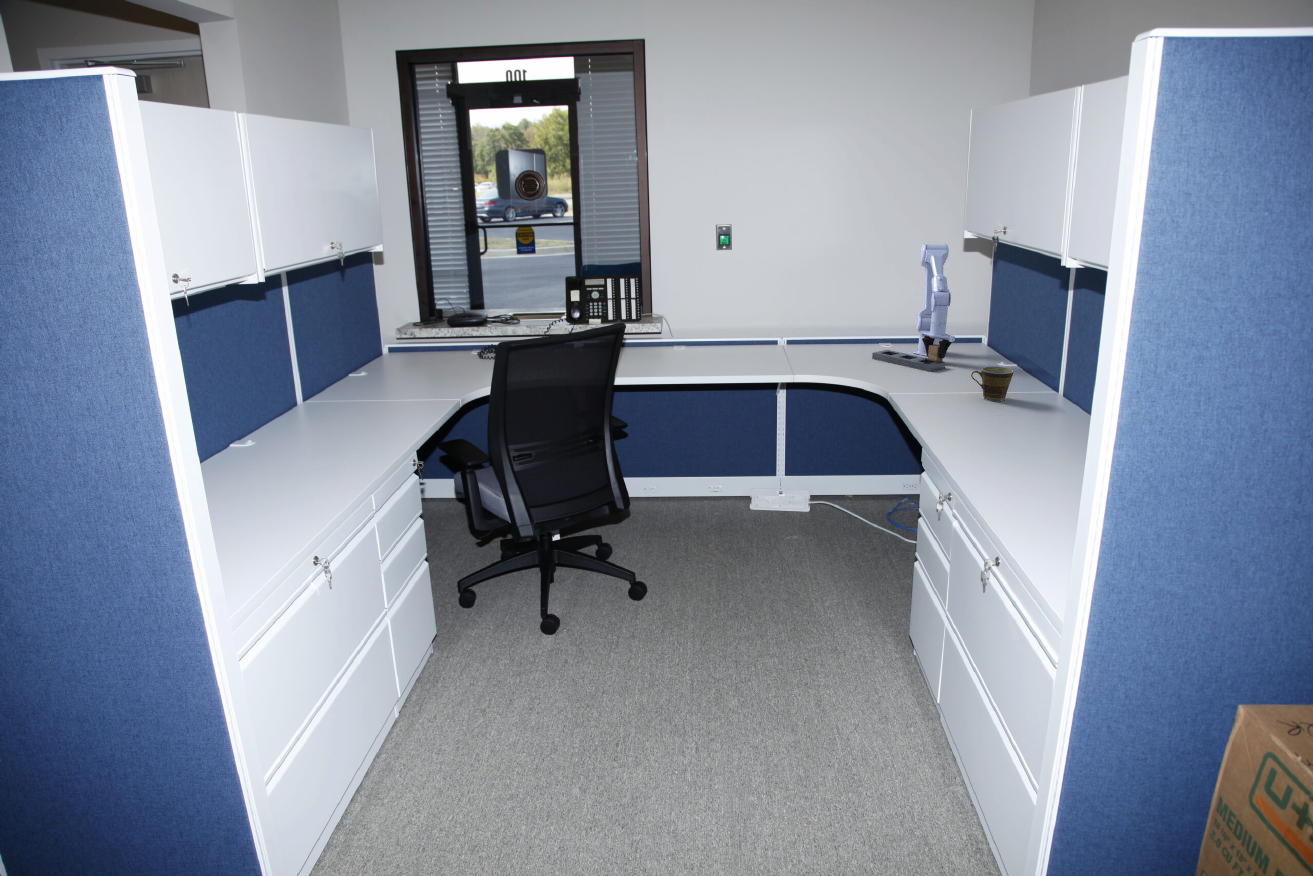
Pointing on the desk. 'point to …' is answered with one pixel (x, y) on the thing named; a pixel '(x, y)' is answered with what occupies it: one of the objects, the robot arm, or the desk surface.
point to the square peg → (934, 352)
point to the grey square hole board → (909, 360)
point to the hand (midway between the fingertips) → (935, 356)
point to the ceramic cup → (994, 382)
